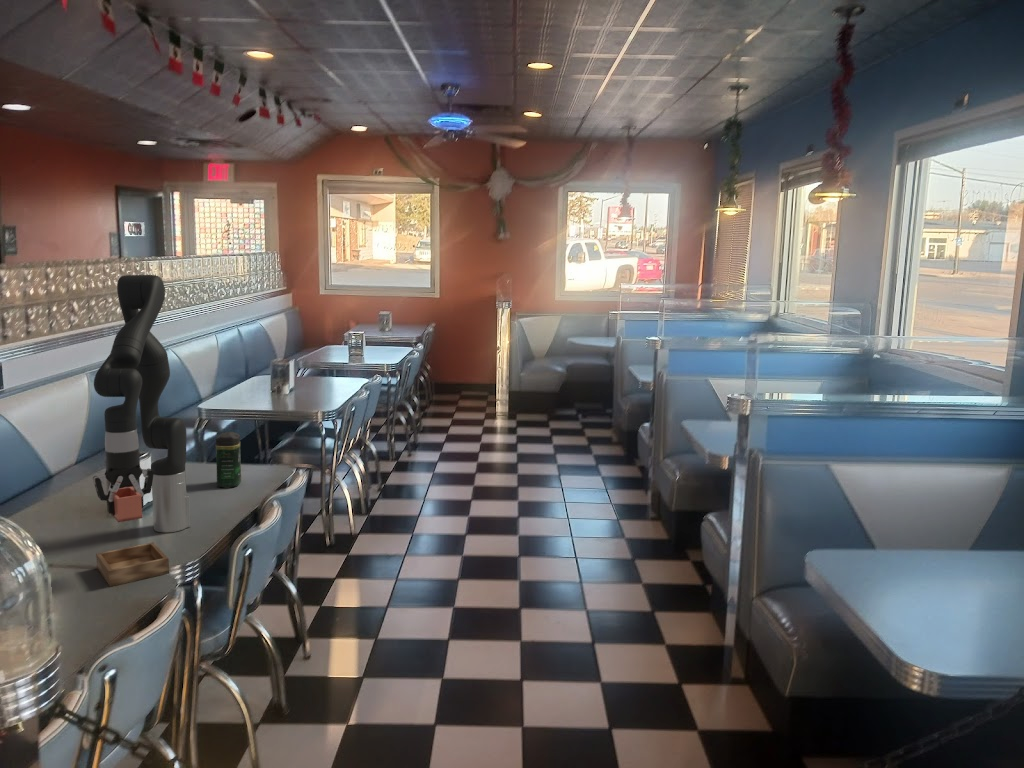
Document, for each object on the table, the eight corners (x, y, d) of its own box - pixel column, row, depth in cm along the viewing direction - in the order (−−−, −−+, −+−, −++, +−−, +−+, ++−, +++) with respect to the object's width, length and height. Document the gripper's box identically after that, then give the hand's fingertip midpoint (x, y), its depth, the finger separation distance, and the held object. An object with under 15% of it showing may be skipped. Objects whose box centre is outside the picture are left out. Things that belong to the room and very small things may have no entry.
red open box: (142, 518, 195) (141, 495, 194) (118, 522, 192) (117, 499, 191) (132, 508, 202) (131, 486, 201) (109, 512, 199) (108, 490, 198)
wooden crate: (154, 556, 209) (153, 542, 208) (169, 573, 199) (168, 558, 198) (97, 568, 200) (96, 553, 200) (109, 586, 190) (108, 571, 189)
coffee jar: (239, 488, 270) (237, 436, 267) (215, 488, 269) (213, 436, 265) (243, 480, 279) (241, 429, 276) (220, 480, 278) (218, 430, 275)
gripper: (93, 454, 187) (98, 522, 190) (157, 446, 196) (160, 511, 199) (86, 448, 193) (91, 514, 195) (148, 441, 202) (151, 503, 204)
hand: (125, 512), depth 197 cm, fingers closed on red open box, 5 cm apart
